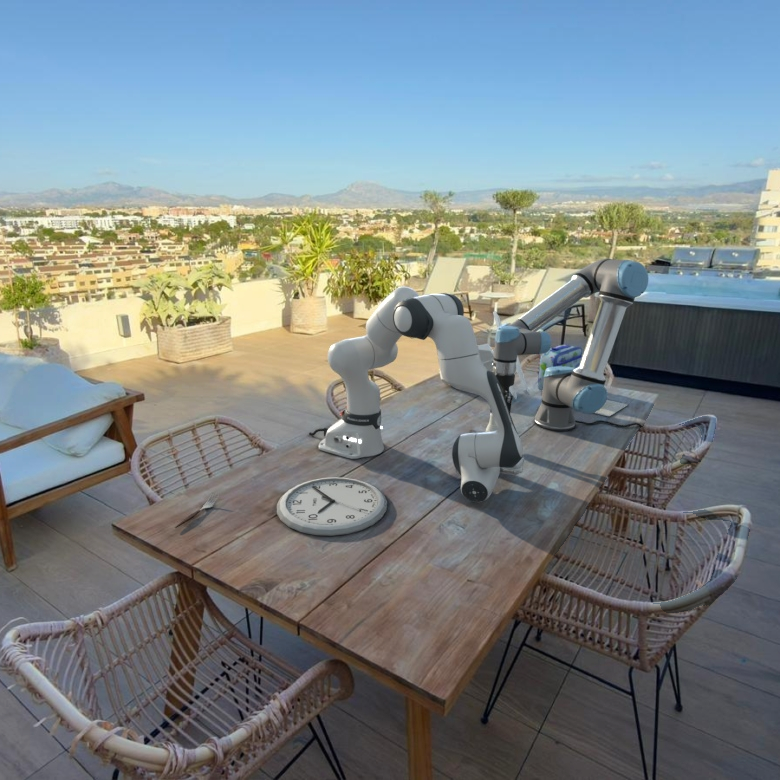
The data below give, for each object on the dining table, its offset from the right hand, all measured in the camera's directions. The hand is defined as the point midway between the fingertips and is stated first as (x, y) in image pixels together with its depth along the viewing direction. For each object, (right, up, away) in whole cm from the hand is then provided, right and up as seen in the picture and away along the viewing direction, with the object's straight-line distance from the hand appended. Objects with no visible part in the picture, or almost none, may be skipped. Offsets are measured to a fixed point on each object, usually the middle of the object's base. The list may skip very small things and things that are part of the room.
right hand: (497, 437), depth 182 cm
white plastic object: (+4, +15, +61) cm, 63 cm away
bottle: (-5, -9, -17) cm, 20 cm away
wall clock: (-53, -15, -39) cm, 68 cm away
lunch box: (+43, +17, +68) cm, 82 cm away
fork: (-88, -16, -45) cm, 100 cm away
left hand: (-5, -2, -18) cm, 19 cm away
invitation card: (+54, +9, +44) cm, 70 cm away
